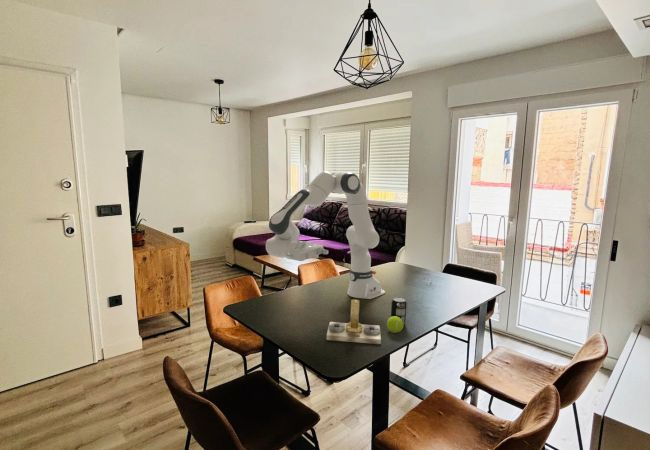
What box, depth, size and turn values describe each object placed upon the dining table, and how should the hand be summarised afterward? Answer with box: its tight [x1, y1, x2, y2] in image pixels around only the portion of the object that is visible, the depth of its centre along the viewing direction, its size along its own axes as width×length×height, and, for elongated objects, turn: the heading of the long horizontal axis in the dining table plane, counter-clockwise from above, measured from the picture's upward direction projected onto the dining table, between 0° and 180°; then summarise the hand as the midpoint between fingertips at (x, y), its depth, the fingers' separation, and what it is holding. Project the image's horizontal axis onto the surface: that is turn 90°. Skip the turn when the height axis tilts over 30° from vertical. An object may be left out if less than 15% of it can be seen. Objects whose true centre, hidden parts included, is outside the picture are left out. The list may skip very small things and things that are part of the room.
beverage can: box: [390, 296, 407, 327], centre depth 156 cm, size 7×7×12 cm
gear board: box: [326, 321, 382, 345], centre depth 145 cm, size 22×13×4 cm, turn 83°
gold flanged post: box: [346, 298, 362, 333], centre depth 144 cm, size 7×7×13 cm
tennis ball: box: [386, 316, 404, 334], centre depth 148 cm, size 7×7×7 cm
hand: (322, 254), depth 152 cm, fingers open, 8 cm apart
